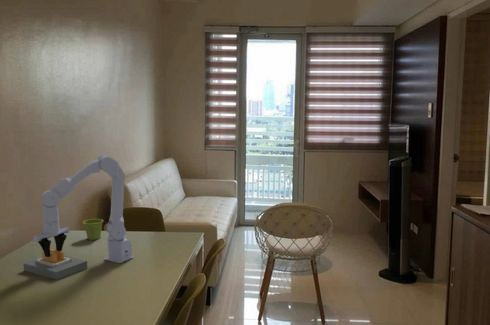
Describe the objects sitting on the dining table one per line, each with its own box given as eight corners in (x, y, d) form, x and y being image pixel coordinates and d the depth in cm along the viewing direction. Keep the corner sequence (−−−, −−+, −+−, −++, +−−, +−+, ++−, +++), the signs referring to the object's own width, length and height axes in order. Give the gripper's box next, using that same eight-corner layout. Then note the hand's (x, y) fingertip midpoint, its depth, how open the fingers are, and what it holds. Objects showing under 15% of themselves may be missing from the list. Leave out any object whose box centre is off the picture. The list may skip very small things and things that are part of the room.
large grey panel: (87, 268, 174) (86, 258, 173) (56, 280, 162) (56, 269, 161) (55, 260, 184) (54, 250, 183) (24, 270, 172) (23, 260, 171)
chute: (64, 261, 173) (63, 252, 172) (55, 264, 169) (54, 254, 169) (51, 258, 177) (50, 249, 176) (42, 261, 174) (41, 251, 173)
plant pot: (100, 241, 210) (99, 223, 209) (80, 241, 211) (80, 223, 210) (106, 235, 220) (105, 218, 219) (88, 235, 220) (87, 218, 219)
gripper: (60, 216, 179) (62, 248, 181) (27, 224, 167) (30, 258, 169) (71, 218, 176) (73, 250, 177) (39, 226, 163) (41, 261, 165)
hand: (53, 254), depth 173 cm, fingers open, 5 cm apart
